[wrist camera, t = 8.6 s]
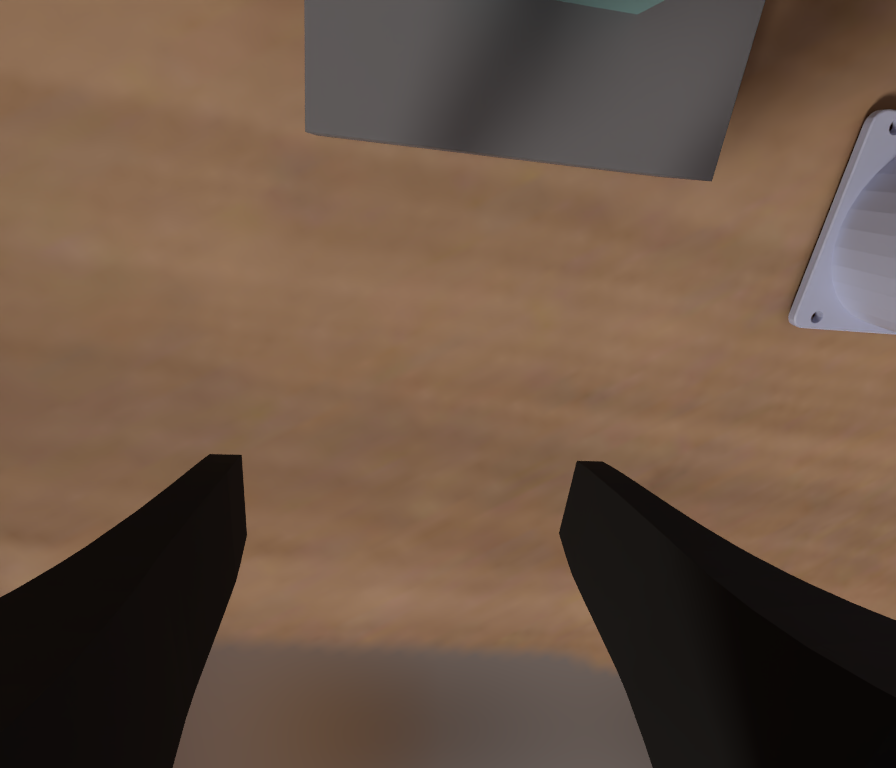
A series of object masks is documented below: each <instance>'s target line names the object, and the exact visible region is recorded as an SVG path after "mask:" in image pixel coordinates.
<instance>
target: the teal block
mask: <svg viewBox="0 0 896 768" xmlns="http://www.w3.org/2000/svg"><path fill="white" fill-rule="evenodd" d="M556 1H562V2H568V3H574V4H580V5H585V6H591V7H597V8H603V9H609V10H614V11H620V12H626V13H632V14H639V13H641V12H643V11H645V10H647V9H649V8H651V7H653V6H655V5H657V4H659V3H661V2H662V1H664V0H556Z"/></svg>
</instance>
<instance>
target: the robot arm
mask: <svg viewBox="0 0 896 768" xmlns="http://www.w3.org/2000/svg"><path fill="white" fill-rule="evenodd" d="M892 122H893V127H892V129H891V131H890V132H889V127H890V125H891V123H892ZM814 313H815V316H814V317H813V318H812V319H811V317H812V315H813V314H814ZM788 318H789V322H790V323H791V324H792V325H794V326H797V327H800V328H811V329H825V330H839V331H853V332H868V333H882V334H896V110H892V109H886V110H876V111H875V112H873V113H871V114H870V115H869V116H868V117H867V119H866V120H865V122H864V124H863V127H862V129H861V132H860V134H859V137H858V139H857V142H856V144H855V147H854V149H853V152H852V155H851V157H850V160H849V162H848V165H847V167H846V170H845V172H844V175H843V178H842V180H841V183H840V185H839V188H838V190H837V193H836V195H835V198H834V201H833V203H832V206H831V208H830V211H829V213H828V216H827V218H826V221H825V223H824V226H823V229H822V231H821V234H820V236H819V239H818V241H817V244H816V246H815V249H814V252H813V254H812V257H811V259H810V262H809V264H808V267H807V269H806V272H805V274H804V277H803V280H802V282H801V285H800V287H799V290H798V292H797V295H796V297H795V300H794V303H793V305H792V308H791V310H790V313H789V317H788ZM559 534H560V538H561V541H562V545H563V548H564V551H565V555H566V558H567V561H568V564H569V567H570V570H571V573H572V575H573V578H574V580H575V582H576V584H577V586H578V589H579V591H580V593H581V595H582V597H583V599H584V602H585V604H586V606H587V608H588V610H589V612H590V614H591V616H592V618H593V621H594V623H595V625H596V627H597V629H598V631H599V633H600V635H601V637H602V640H603V642H604V644H605V646H606V648H607V650H608V652H609V654H610V656H611V658H612V661H613V663H614V665H615V667H616V669H617V671H618V674H619V676H620V678H621V681H622V683H623V685H624V688H625V690H626V693H627V695H628V698H629V701H630V703H631V706H632V709H633V712H634V714H635V718H636V720H637V723H638V726H639V729H640V731H641V734H642V737H643V740H644V743H645V745H646V749H647V752H648V755H649V757H650V760H651V764H652V767H653V768H896V620H893V619H891V618H888V617H886V616H883V615H881V614H878V613H876V612H873V611H871V610H868V609H866V608H863V607H861V606H859V605H856V604H854V603H851V602H849V601H847V600H845V599H842V598H840V597H838V596H836V595H833V594H831V593H829V592H827V591H824V590H822V589H820V588H818V587H815V586H813V585H811V584H809V583H807V582H805V581H803V580H801V579H798V578H796V577H794V576H792V575H790V574H788V573H786V572H784V571H782V570H780V569H778V568H777V567H775V566H773V565H771V564H769V563H767V562H765V561H763V560H761V559H759V558H757V557H755V556H753V555H752V554H750V553H748V552H746V551H744V550H743V549H741V548H739V547H737V546H735V545H734V544H732V543H730V542H729V541H727V540H725V539H724V538H722V537H720V536H719V535H717V534H715V533H714V532H712V531H710V530H709V529H707V528H705V527H704V526H702V525H700V524H699V523H697V522H696V521H694V520H692V519H691V518H689V517H688V516H686V515H685V514H683V513H682V512H680V511H678V510H677V509H675V508H674V507H672V506H671V505H669V504H668V503H666V502H665V501H663V500H662V499H660V498H659V497H657V496H656V495H654V494H653V493H651V492H650V491H648V490H647V489H645V488H644V487H642V486H641V485H639V484H638V483H636V482H635V481H633V480H632V479H630V478H629V477H627V476H626V475H624V474H623V473H621V472H619V471H618V470H616V469H615V468H613V467H611V466H609V465H608V464H606V463H604V462H599V461H577V463H576V467H575V471H574V475H573V479H572V483H571V487H570V491H569V495H568V499H567V503H566V507H565V511H564V515H563V519H562V523H561V527H560V531H559ZM246 537H247V529H246V514H245V500H244V485H243V470H242V455H221V454H209V455H208V456H207V457H205V458H204V459H203V460H201V461H200V462H199V463H198V464H196V465H195V466H194V467H192V468H191V469H190V470H189V471H187V472H186V473H185V474H184V475H183V476H181V477H180V478H179V479H178V480H176V481H175V482H174V483H172V484H171V485H170V486H169V487H167V488H166V489H165V490H164V491H162V492H161V493H160V494H158V495H157V496H156V497H154V498H153V499H152V500H151V501H149V502H148V503H147V504H145V505H144V506H143V507H141V508H140V509H139V510H137V511H136V512H135V513H133V514H132V515H130V516H129V517H128V518H126V519H125V520H123V521H122V522H120V523H119V524H118V525H116V526H115V527H113V528H112V529H110V530H109V531H108V532H106V533H105V534H103V535H102V536H100V537H99V538H98V539H96V540H95V541H93V542H92V543H90V544H89V545H88V546H86V547H85V548H83V549H81V550H80V551H78V552H77V553H75V554H74V555H72V556H71V557H69V558H67V559H66V560H64V561H63V562H61V563H59V564H58V565H56V566H54V567H53V568H51V569H49V570H48V571H46V572H44V573H43V574H41V575H39V576H37V577H36V578H34V579H32V580H31V581H29V582H27V583H26V584H24V585H22V586H20V587H19V588H17V589H15V590H13V591H11V592H10V593H8V594H6V595H4V596H2V597H0V768H173V764H174V760H175V757H176V753H177V749H178V745H179V742H180V738H181V734H182V731H183V727H184V724H185V720H186V716H187V713H188V711H189V708H190V705H191V702H192V698H193V695H194V692H195V689H196V687H197V684H198V682H199V679H200V676H201V674H202V671H203V668H204V666H205V663H206V660H207V658H208V655H209V652H210V650H211V647H212V644H213V642H214V639H215V637H216V634H217V631H218V629H219V626H220V623H221V621H222V618H223V615H224V613H225V610H226V607H227V604H228V602H229V599H230V596H231V594H232V591H233V588H234V585H235V582H236V579H237V575H238V571H239V567H240V563H241V559H242V554H243V550H244V546H245V541H246Z"/></svg>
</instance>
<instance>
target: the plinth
mask: <svg viewBox="0 0 896 768" xmlns="http://www.w3.org/2000/svg"><path fill="white" fill-rule="evenodd" d="M764 3H765V0H664V1H662V2H661V3H659V4H657V5H655V6H653V7H651V8H649V9H647V10H645V11H643V12H641V13H639V14H632V13H626V12H620V11H614V10H609V9H603V8H597V7H591V6H585V5H580V4H574V3H568V2H562V1H556V0H305V132H307V133H311V134H314V135H318V136H327V137H335V138H343V139H351V140H360V141H368V142H376V143H384V144H393V145H401V146H409V147H417V148H426V149H434V150H442V151H451V152H459V153H467V154H475V155H484V156H492V157H500V158H508V159H517V160H525V161H533V162H541V163H550V164H558V165H566V166H574V167H583V168H591V169H599V170H607V171H616V172H624V173H632V174H641V175H649V176H657V177H667V178H679V179H691V180H702V181H712V179H713V175H714V172H715V168H716V165H717V162H718V158H719V155H720V152H721V148H722V145H723V141H724V138H725V135H726V131H727V128H728V125H729V121H730V118H731V114H732V111H733V108H734V104H735V101H736V97H737V94H738V91H739V87H740V84H741V81H742V77H743V74H744V70H745V67H746V64H747V60H748V57H749V54H750V50H751V47H752V43H753V40H754V37H755V33H756V30H757V27H758V23H759V20H760V16H761V13H762V10H763V6H764Z"/></svg>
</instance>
